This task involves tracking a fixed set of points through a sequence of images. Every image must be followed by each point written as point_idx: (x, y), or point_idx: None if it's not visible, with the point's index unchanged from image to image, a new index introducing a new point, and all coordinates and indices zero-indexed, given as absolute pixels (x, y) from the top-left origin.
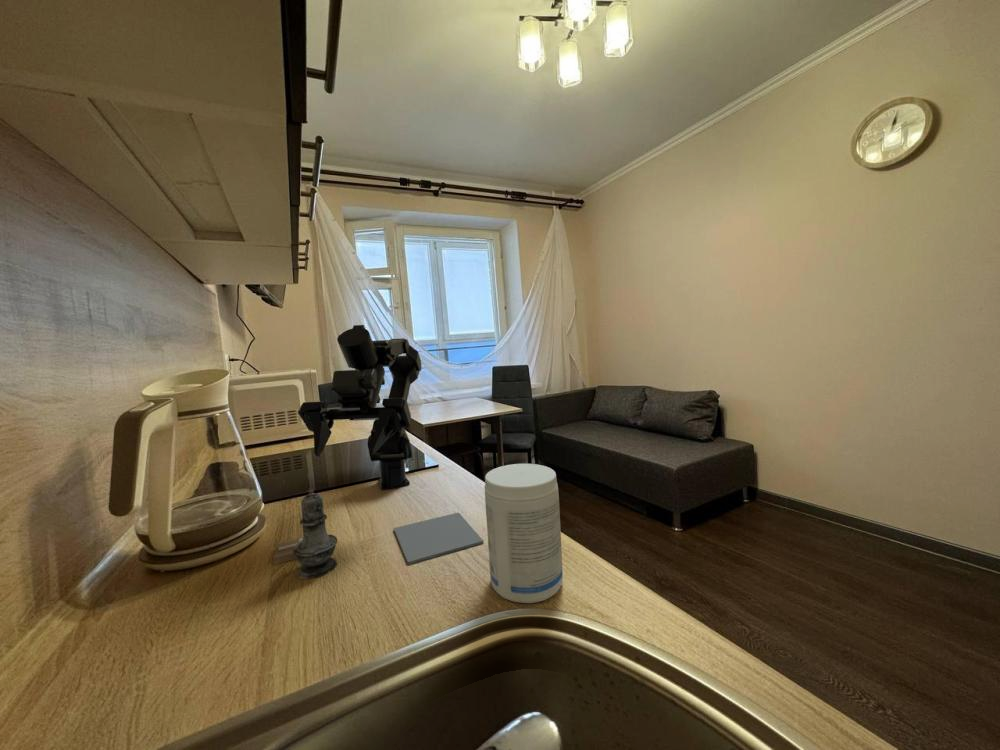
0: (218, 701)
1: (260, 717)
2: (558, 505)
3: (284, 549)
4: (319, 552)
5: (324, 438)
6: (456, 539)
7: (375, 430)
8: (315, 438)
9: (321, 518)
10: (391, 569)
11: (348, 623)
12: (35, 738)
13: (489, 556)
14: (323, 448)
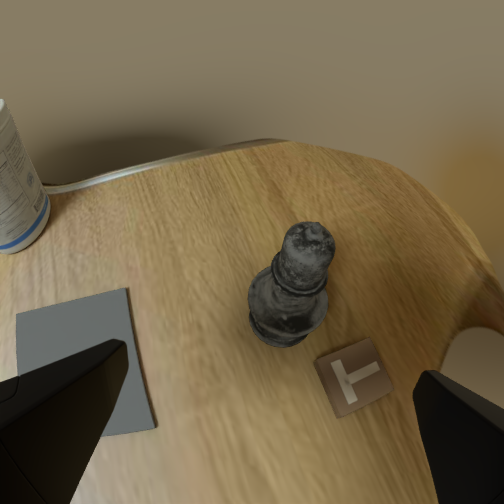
0: (281, 154)
1: (243, 142)
2: None
3: (366, 363)
4: (268, 267)
5: (462, 484)
6: (45, 332)
7: (42, 399)
8: (490, 406)
9: (278, 259)
10: (151, 284)
11: (199, 199)
12: (379, 160)
13: (35, 194)
14: (427, 447)
